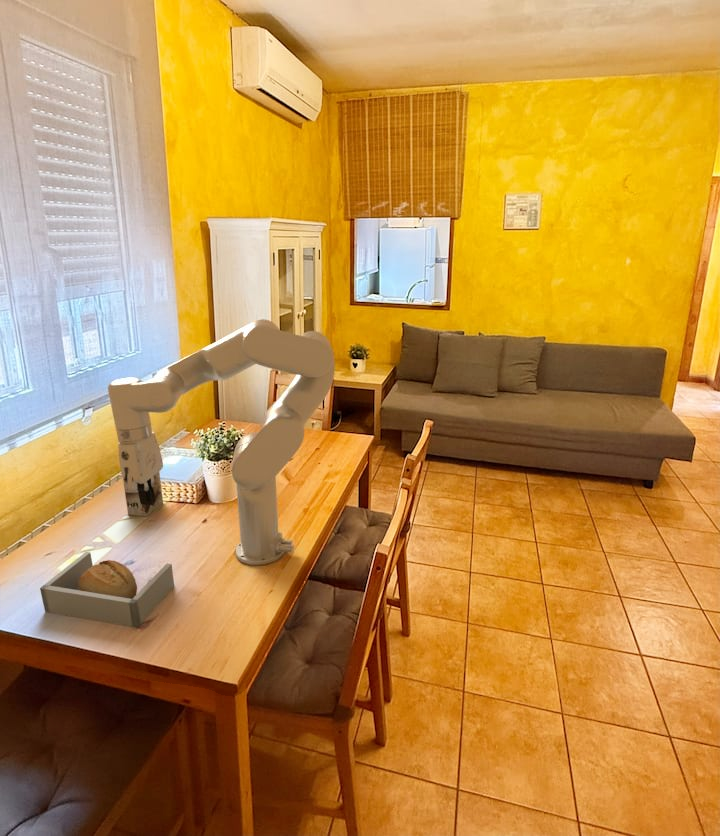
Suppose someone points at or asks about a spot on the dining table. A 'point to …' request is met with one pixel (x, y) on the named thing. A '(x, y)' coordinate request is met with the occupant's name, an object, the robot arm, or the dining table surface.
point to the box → (103, 596)
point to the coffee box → (134, 502)
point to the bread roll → (109, 580)
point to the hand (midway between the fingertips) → (148, 503)
